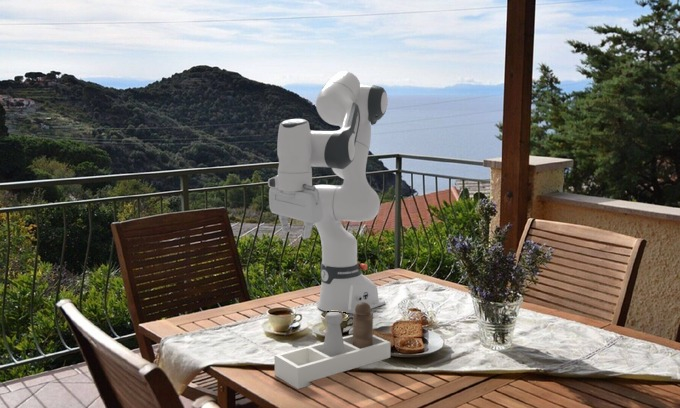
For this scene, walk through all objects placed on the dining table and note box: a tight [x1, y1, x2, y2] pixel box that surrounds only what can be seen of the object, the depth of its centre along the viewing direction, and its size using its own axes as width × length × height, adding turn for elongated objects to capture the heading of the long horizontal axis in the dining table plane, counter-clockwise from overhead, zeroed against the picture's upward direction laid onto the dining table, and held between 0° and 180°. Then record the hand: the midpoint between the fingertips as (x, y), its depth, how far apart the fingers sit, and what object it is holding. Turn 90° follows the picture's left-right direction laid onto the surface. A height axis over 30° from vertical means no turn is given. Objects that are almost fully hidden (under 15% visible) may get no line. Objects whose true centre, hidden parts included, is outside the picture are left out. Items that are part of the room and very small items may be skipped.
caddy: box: [273, 334, 392, 390], centre depth 165 cm, size 28×10×5 cm, turn 127°
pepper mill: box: [352, 302, 374, 349], centre depth 169 cm, size 5×5×14 cm
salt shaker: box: [322, 312, 345, 357], centre depth 164 cm, size 6×6×13 cm
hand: (295, 234), depth 176 cm, fingers open, 8 cm apart
